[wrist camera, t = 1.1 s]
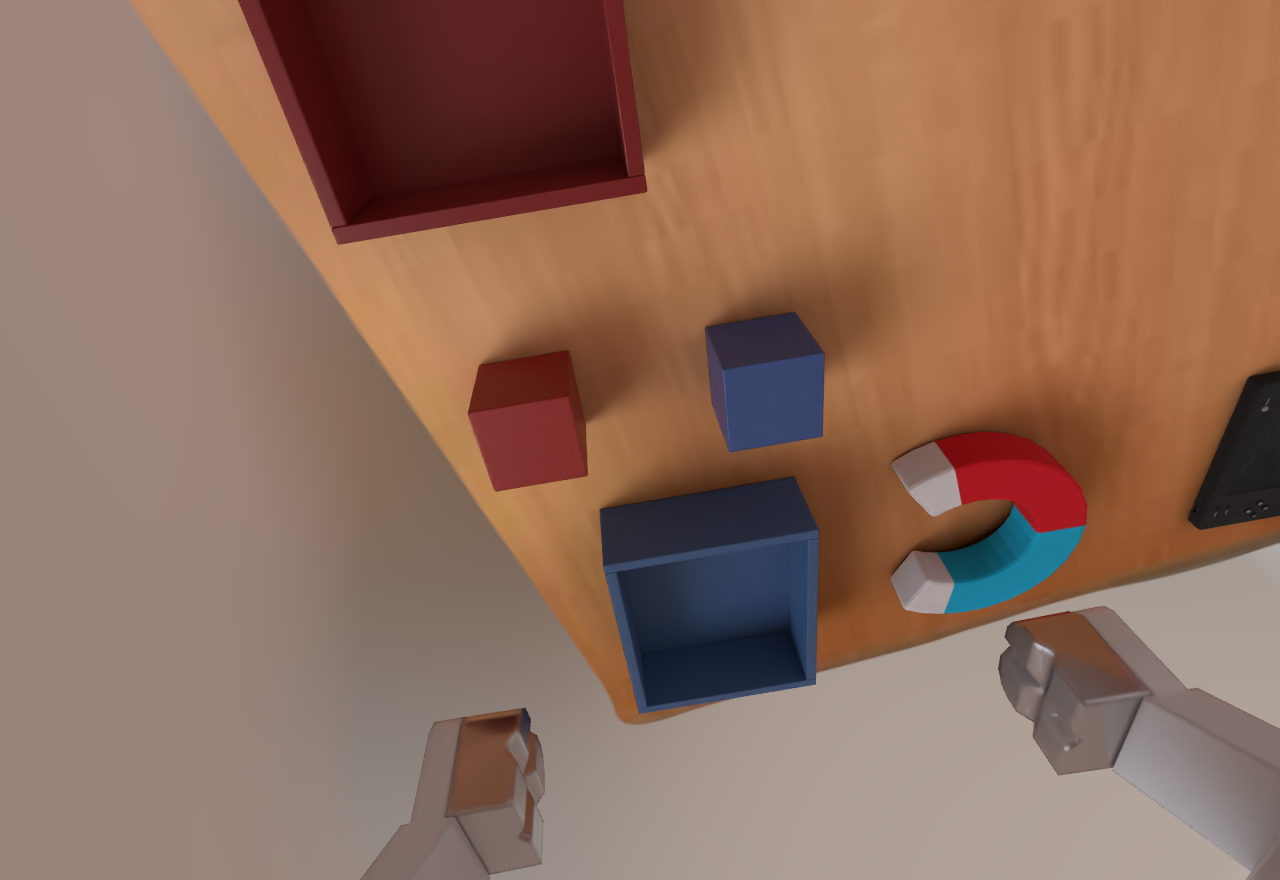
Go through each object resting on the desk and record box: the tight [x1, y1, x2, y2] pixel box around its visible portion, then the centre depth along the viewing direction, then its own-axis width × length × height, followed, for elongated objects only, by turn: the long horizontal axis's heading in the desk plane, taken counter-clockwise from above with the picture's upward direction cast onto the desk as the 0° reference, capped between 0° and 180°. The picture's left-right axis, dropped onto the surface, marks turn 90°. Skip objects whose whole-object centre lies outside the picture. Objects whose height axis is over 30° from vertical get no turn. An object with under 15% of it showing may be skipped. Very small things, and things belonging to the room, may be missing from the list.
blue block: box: [705, 312, 825, 452], centre depth 31 cm, size 4×4×4 cm
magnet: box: [890, 432, 1087, 614], centre depth 38 cm, size 12×3×10 cm
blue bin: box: [600, 477, 819, 714], centre depth 39 cm, size 13×11×4 cm
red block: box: [468, 351, 588, 491], centre depth 31 cm, size 4×4×4 cm
